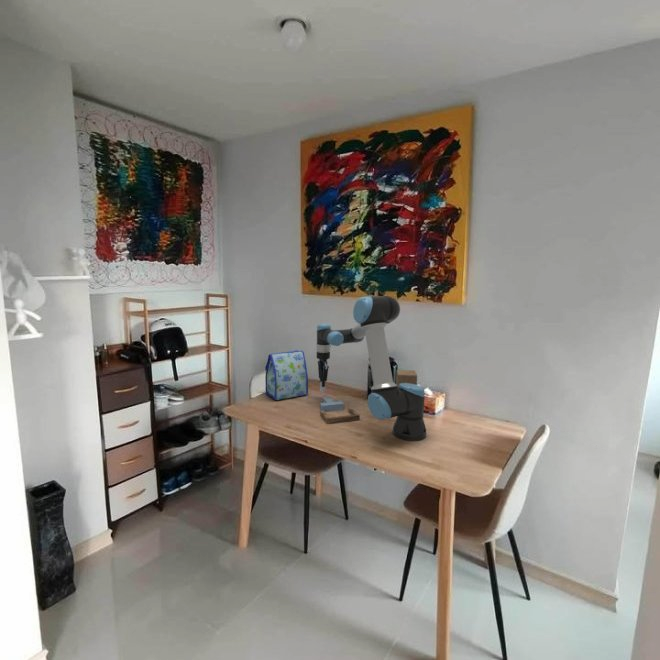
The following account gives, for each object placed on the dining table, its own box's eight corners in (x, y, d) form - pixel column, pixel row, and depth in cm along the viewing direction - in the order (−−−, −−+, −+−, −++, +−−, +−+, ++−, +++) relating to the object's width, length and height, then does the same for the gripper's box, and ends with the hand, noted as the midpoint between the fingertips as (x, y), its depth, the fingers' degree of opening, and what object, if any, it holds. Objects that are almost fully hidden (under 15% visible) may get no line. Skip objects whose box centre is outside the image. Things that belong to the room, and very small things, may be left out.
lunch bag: (295, 388, 241) (295, 347, 237) (309, 395, 228) (310, 352, 224) (263, 394, 229) (262, 351, 225) (275, 402, 216) (275, 357, 211)
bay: (359, 420, 193) (359, 415, 192) (327, 424, 187) (327, 419, 187) (350, 411, 204) (351, 407, 203) (320, 415, 198) (320, 410, 198)
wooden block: (413, 405, 215) (415, 370, 212) (415, 411, 205) (417, 375, 202) (395, 404, 216) (396, 369, 213) (396, 410, 206) (398, 374, 203)
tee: (343, 409, 206) (343, 403, 206) (322, 412, 203) (322, 405, 202) (336, 402, 218) (336, 396, 217) (315, 404, 214) (315, 398, 213)
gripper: (333, 353, 212) (332, 394, 216) (326, 348, 224) (325, 387, 228) (320, 354, 209) (319, 396, 213) (313, 349, 222) (313, 388, 226)
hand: (322, 391), depth 221 cm, fingers closed
